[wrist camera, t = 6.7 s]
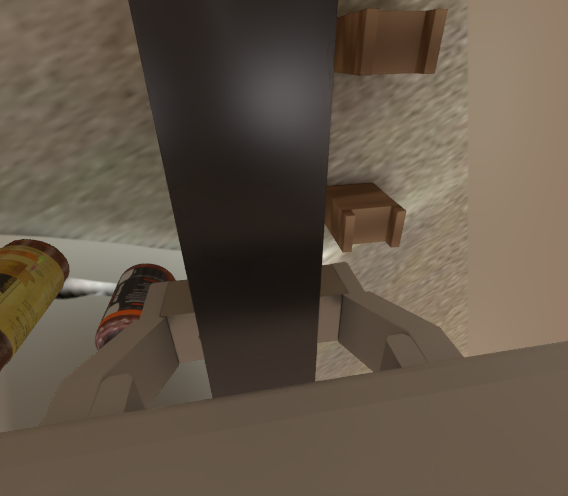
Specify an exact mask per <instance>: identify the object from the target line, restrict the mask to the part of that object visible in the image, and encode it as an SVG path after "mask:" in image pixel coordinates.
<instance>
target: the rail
mask: <svg viewBox="0 0 568 496" xmlns="http://www.w3.org/2000/svg"><path fill="white" fill-rule="evenodd" d="M128 1H129V6H130V11H131V15H132V20H133V25H134V29H135V34H136V39H137V44H138V48H139V53H140V58H141V62H142V67H143V72H144V76H145V81H146V86H147V91H148V95H149V100H150V105H151V109H152V114H153V119H154V124H155V128H156V133H157V138H158V142H159V147H160V152H161V157H162V161H163V166H164V171H165V175H166V180H167V185H168V190H169V194H170V199H171V204H172V208H173V213H174V218H175V223H176V227H177V232H178V237H179V241H180V246H181V251H182V256H183V260H184V265H185V270H186V274H187V279H188V284H189V289H190V293H191V298H192V303H193V307H194V312H195V317H196V322H197V326H198V331H199V336H200V340H201V345H202V350H203V354H204V359H205V364H206V369H207V373H208V377H209V383H210V387H211V392H212V397H213V398H218V397H224V396H230V395H236V394H242V393H249V392H255V391H261V390H267V389H273V388H279V387H285V386H292V385H298V384H304V383H310V382H315V372H316V356H317V339H318V322H319V306H320V289H321V272H322V255H323V239H324V222H325V205H326V189H327V172H328V155H329V139H330V122H331V105H332V88H333V72H334V55H335V38H336V22H337V5H338V0H128Z"/></svg>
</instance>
